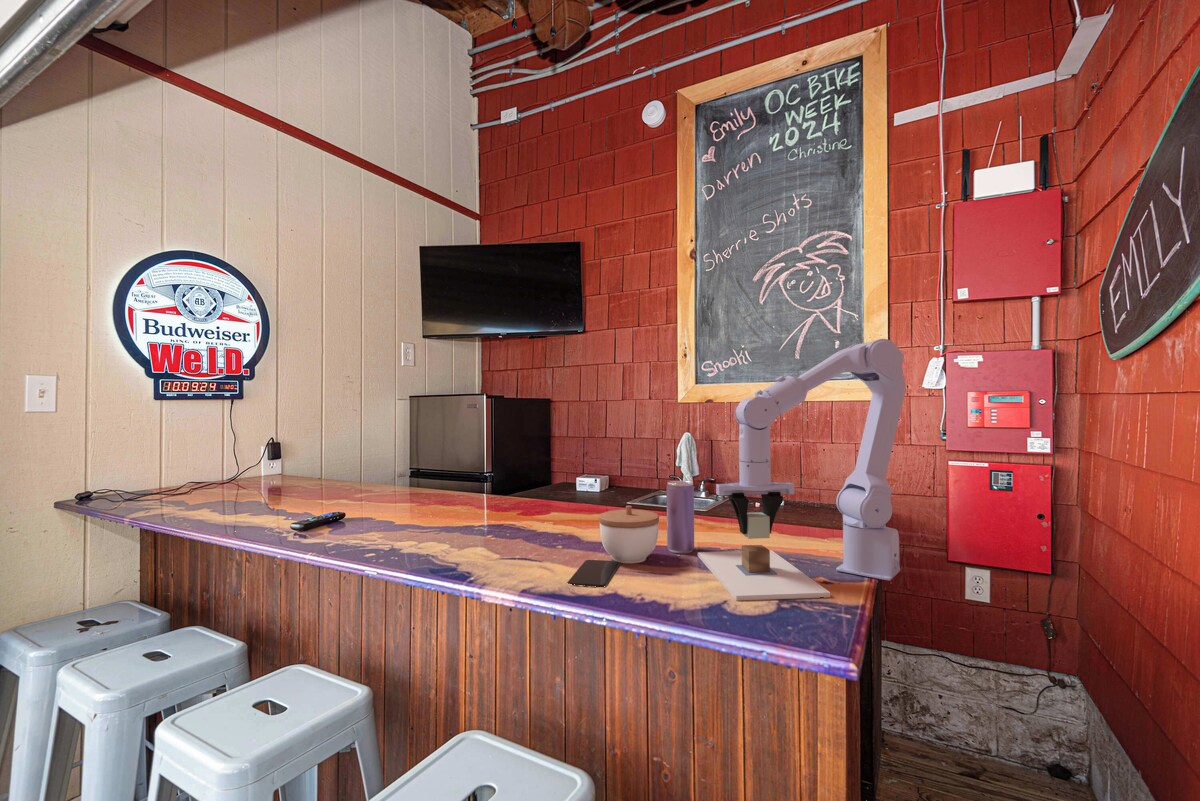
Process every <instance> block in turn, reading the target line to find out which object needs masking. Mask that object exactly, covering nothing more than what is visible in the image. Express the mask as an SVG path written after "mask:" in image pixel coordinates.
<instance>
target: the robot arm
mask: <svg viewBox="0 0 1200 801" xmlns="http://www.w3.org/2000/svg"><path fill="white" fill-rule="evenodd" d="M904 359H905V355H904V353H903V351H901V349H900V348H899V347H898V346H897V344H896V343H894V342H893V341H892V340H890V339H888V338H879V339H875V340H872V341H867V342H861V343H853V344H851V345H850V346H848V347H847V348H842V349H840V350H839V351H837V352H835V353H833V354H831V355H830V356H829V357H827V358H826V359H824V360H822V361H821V362H820V363H818V364H816V365H814V366H813V367H812V368H810V369H809V370H807V371H805V372H804V373H802V374H801V375H799V376H797V377H795V376H792V375H786V376H784V375H782V376H781V375H780V376H778V377H776V378H775V383H773V384H771V385H770V386H768V387H766V388H764V389H763V390H761V389H758V390H756V391H754V397H747V398H744V399H742V400H741V401H739V403H738V405H737V406H736V408H735V412H733V416H734V418H735V419H734V420H735V421H736V423H738V425H739V426H738V429H739V431H738V432H739V436H738V447H739V448H738V451H739V452H738V453H739V454H738V456H739V457H738V459H739V460H738V462H739V463H738V464H739V465H738V466H739V470H738V472H739V475H738V476H739V482H730V483H716V484H715V493H716V494H715V495H717V496H718V497H720V496H721V497H723V496H727V497H728V500H729V501H730V503H731V506H732V508H733V510H734V512H735V515H736V519H737V523H738V526H739V532H740V533H741V534H742V535H743V534H747V513H748V510H749V499H748V498H747V497H746V496H745V495H761V496H760V497H761V504H762V513H764V514H766V515H767V516H769V517H770V534H772V529H773V525H774V521H775V518H776V515H777V513H778V510H779V509H780V507H781V506H782V504H783V502H784V496H783V494H784V495H795V484H794V483H792V482H772V476H771V475H772V474H771V473H772V472H771V470H772V469H771V465H772V464H771V461H772V460H771V426H772V425H773V423H774V422H775V420H776V418H778V417H781V415H783V414H786V413H787V412H788V411H791V409H793V408H796V407H797V406H799V405H800V404H802V403H804V402H805V401H806V399H807V395H808V393H809V391H811V390H813V389H815V388H817V387H819V386H821V385H823V384H824V383H826V382H828V381H829V380H830V381H831V379H834V378H835V377H837V376H839V375H841V374H843V373H850V374H851V375H852V376H854V377H855V378H857V379H858V380H860V381H861V382H862V383H864V384H865V386H866V387H867V388H868V389H869V391H870V392H871V394H872V395H871V398H870V404H869V407H868V411H867V414H866V415H867V416H866V420H865V425H864V428H863V434H862V437H861V442H860V445H859V450H858V454H857V459H856V463H855V467H854V470H853V472H852V473H851V474H850V475H848V476H847V477H846V478H845V480H844V481H845V482H844V485H843V486H842V488H841V489H840V490H839V492H838V494H837V496H836V500H835V501H836V502H835V503H836V504H835V505H836V508H837V510H838V511H839V513H841V515H842V535H843V536H842V541H843V542H842V544H843V545H842V547H843V549H842V550H843V551H842V554H843V556H842V559H843V562H842V564H840V565H838V566H837V567H836V570H835V571H837V572H842V573H847V574H852V575H858V576H863V577H867V578H873V579H878V580H884V581H892V580H893V578H894V577H895V576H897V574H899V573H900V572H901V568H900V536H899V535H900V534H899V530H898V529H897V528H892V527H888V526H886V524H887V523H888V522H889V521H890V519H891V518H892V515H893V505H892V498H891V497H892V493H893V490H892V488H891V486H890V484H889V482H888V481H887V479H886V477H887V472H888V469H889V463H890V459H891V454H892V451H893V446H894V442H895V438H896V434H897V429H898V425H899V421H900V418H901V417H900V416H901V412H902V408H903V403H904V400H905V395H906V390H907V389H906V388H907V386H906V379H905V376H904V370H903V363H904Z"/></svg>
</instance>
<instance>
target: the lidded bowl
mask: <svg viewBox="0 0 1200 801" xmlns="http://www.w3.org/2000/svg"><path fill="white" fill-rule="evenodd" d="M632 508H633V507H632V505H626V506H625V509H615V510H614V509H613V510H608V511H604V512H602V513H600V514H599V516H598V522H599V534H600V539H601V543H602V546H603V548H604V550H605V552H606V553H607V554H608V555H609V556H610V557H611V558H612V561H618V562H619V563H621V564H629V565H630V564H639V563H643V562H645V561H646V560H647V557H649V556H650V555H651V554H652V552H653V551H654V550H655V548H656V546H657V542H658V538H659V522H660V516H659V514H658V513H656V512H653V511H650V510H644V509H632Z"/></svg>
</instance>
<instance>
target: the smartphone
mask: <svg viewBox="0 0 1200 801" xmlns="http://www.w3.org/2000/svg"><path fill="white" fill-rule="evenodd" d="M619 566H620V563H619V562H618V561H614V560H606V559H605V560H604V559H585V560H584V561H583V562H582V564H581V565H580V566H579V568H578V569H577V570H576V571H575V572H574V573H573V575H572V576H571V577H570V578H569V579H568V581H567V582H566V584H567V583H568V584H572V585H574V584H575V585H585V586H584V587H587V586H596V587H604V586H606V585H607V584H608V585H609V583H610V581H611V580H612V578H613V577H614V575H613V574H615V573H616V572H617V570H618V568H619ZM615 571H616V572H615ZM611 577H612V578H611ZM610 579H611V580H610ZM609 580H610V581H609ZM608 582H609V583H608ZM608 585H607V586H608ZM607 586H606V587H607ZM596 587H595V588H596ZM604 588H605V587H604Z"/></svg>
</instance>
